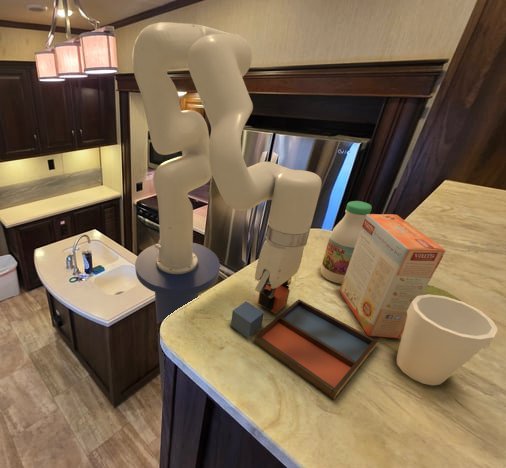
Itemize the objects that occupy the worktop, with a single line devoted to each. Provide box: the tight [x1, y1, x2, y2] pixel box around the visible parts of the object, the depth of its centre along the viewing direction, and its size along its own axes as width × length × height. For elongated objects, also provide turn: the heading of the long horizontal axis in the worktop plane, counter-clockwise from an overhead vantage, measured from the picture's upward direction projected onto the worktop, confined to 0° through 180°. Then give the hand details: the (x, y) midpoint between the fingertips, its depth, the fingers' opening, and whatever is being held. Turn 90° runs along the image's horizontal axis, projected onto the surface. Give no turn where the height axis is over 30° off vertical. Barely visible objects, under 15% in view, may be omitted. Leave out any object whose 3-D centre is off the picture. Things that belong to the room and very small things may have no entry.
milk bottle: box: [320, 200, 373, 285], centre depth 70 cm, size 8×8×20 cm
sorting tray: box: [253, 298, 378, 400], centre depth 56 cm, size 15×16×2 cm
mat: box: [423, 284, 461, 301], centre depth 63 cm, size 11×11×2 cm
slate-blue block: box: [230, 300, 265, 339], centre depth 61 cm, size 4×4×4 cm
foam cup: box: [395, 294, 499, 386], centre depth 48 cm, size 10×9×13 cm
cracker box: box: [339, 213, 447, 340], centre depth 58 cm, size 14×6×21 cm, turn 170°
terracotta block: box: [257, 285, 291, 315], centre depth 66 cm, size 4×4×4 cm
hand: (272, 301), depth 66 cm, fingers closed on terracotta block, 4 cm apart
